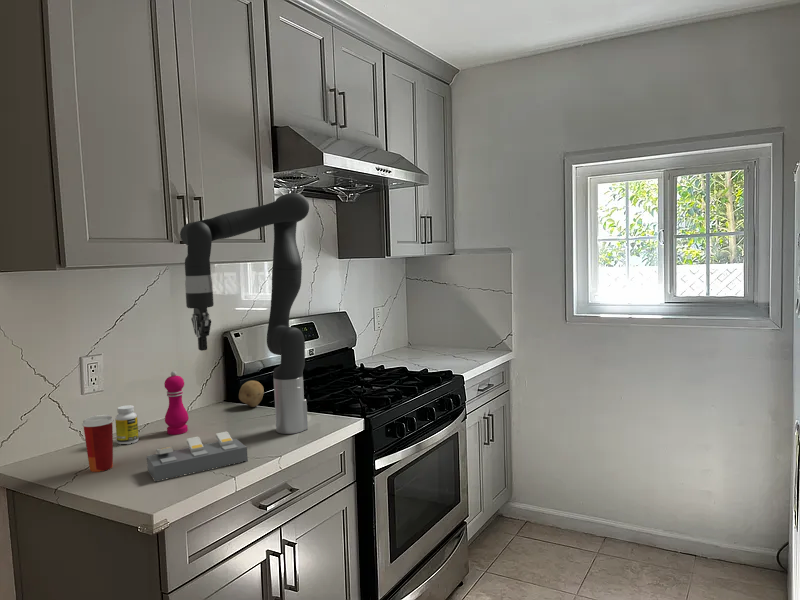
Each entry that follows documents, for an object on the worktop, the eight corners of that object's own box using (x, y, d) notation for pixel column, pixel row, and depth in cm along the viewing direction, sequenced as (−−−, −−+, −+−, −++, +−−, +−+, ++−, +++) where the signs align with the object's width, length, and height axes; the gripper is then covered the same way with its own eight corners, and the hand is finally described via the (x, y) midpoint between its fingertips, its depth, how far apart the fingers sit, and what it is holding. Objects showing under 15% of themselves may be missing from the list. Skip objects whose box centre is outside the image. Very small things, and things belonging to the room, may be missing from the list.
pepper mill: (164, 436, 193) (160, 374, 191) (166, 430, 200) (162, 370, 198) (188, 433, 195) (184, 372, 193) (190, 427, 202) (186, 368, 200)
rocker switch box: (236, 451, 175) (235, 437, 175) (247, 461, 167) (246, 445, 167) (147, 470, 163) (146, 454, 162) (155, 481, 154) (154, 465, 154)
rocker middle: (198, 440, 169) (198, 436, 169) (203, 450, 165) (203, 446, 165) (186, 442, 167) (186, 438, 167) (191, 453, 163) (191, 448, 163)
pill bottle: (130, 445, 185) (128, 409, 184) (112, 444, 186) (109, 409, 185) (143, 439, 191) (140, 404, 190) (125, 438, 192) (123, 404, 191)
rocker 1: (168, 451, 165) (168, 446, 165) (172, 451, 160) (172, 446, 161) (156, 454, 163) (155, 449, 163) (160, 454, 159) (159, 449, 159)
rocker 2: (227, 435, 173) (227, 431, 173) (232, 444, 169) (233, 440, 169) (215, 437, 172) (215, 433, 171) (221, 446, 168) (221, 442, 167)
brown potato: (247, 411, 220) (246, 384, 219) (234, 407, 226) (233, 381, 225) (269, 406, 226) (267, 379, 226) (255, 402, 233) (254, 377, 232)
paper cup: (121, 462, 170) (118, 413, 168) (109, 472, 162) (105, 421, 161) (93, 464, 169) (89, 414, 168) (79, 474, 162) (75, 422, 161)
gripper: (218, 291, 174) (222, 351, 175) (206, 289, 185) (209, 346, 186) (191, 292, 170) (195, 354, 171) (180, 291, 181) (184, 348, 182)
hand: (202, 350), depth 179 cm, fingers closed
